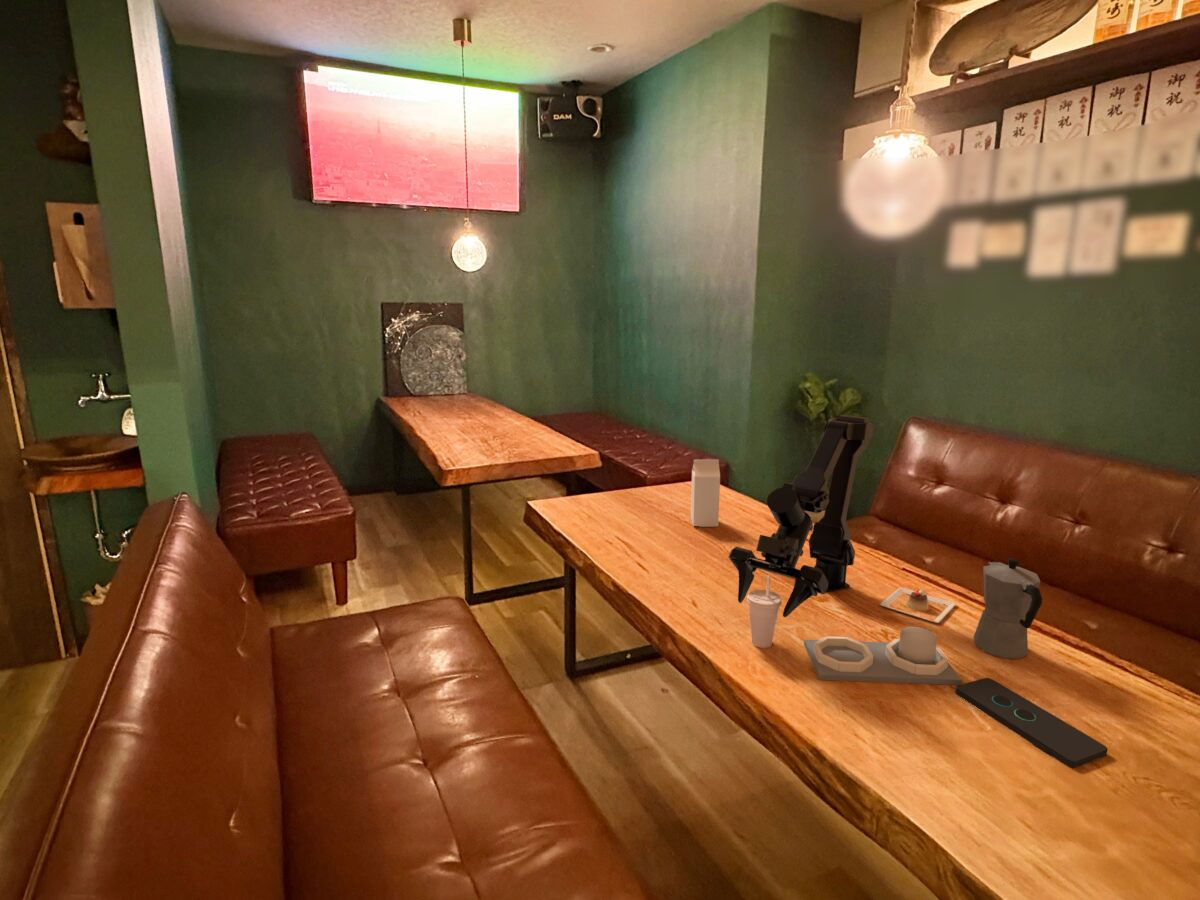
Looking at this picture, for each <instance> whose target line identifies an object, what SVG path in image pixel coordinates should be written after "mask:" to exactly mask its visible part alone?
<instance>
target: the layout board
mask: <svg viewBox="0 0 1200 900" xmlns="http://www.w3.org/2000/svg"><path fill="white" fill-rule="evenodd" d="M899 634H900V635H899V638H894V639H893V640H891V641H890V642H887V641H885V642H884V641H861V640H860V641H857V640H855V639H853V638H850V637H846V636H831V635H830V636H829V635H827V636H823V637H822V638H820V639H803V644H804V648H805V650H806V652H807V654H808V657H809V659H810V661H811V664H812V666H813V668H814V671H815V673H816V676H817V678H818V680H820V681H821V680H823V681H844V682H845V681H847V682H874V683H894V684H895V683H900V684H927V685H947V686H948V685H949V686H950V685H951V686H954V685H956V686H959V685H962V682H963V680H962V678H961V677H960V675H959V674H958V673H957V672H956V670H955V669H954V668H953V666H952V665H951V664H950V663H949V657H948V656H947V655H946V654H945V653H944V652H943V650H942V649H941V648H940V647H939V646H937V645H938V636H937V635H936V633H934V632H933V631H931V630H928V629H926V628H922V627H919V626H905V627H903V628H901V629H900V631H899Z"/></svg>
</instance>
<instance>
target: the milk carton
mask: <svg viewBox="0 0 1200 900" xmlns="http://www.w3.org/2000/svg"><path fill="white" fill-rule="evenodd" d="M719 463H720V460H719V459H693V464H692V469H691V485H690V487H691V491H690V494H691V496H690V521H691V524H692V526H693V527H694V526H699V527H700V528H703V527H707V528H710V527H712V528H715V527H716V528H717V527H719V518H720V517H719V514H720V492H721V491H720V489H721V470H720V464H719ZM699 527H698V528H699Z"/></svg>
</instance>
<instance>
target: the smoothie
mask: <svg viewBox="0 0 1200 900" xmlns="http://www.w3.org/2000/svg"><path fill="white" fill-rule="evenodd" d="M766 576H767V577H766V589H755V590H752V591H749V592H747V596H746V597H747V598H746V602H747V603H748V610H749V611H748V612H749V621H750V633H751V634H750V635H751V644H752V645H753V646H755V647H757V648H761V649H766V648H770V647H771V646H772V643H773V639H774V634H775V630H776V629H775V628H776V623H777V619H778V614H779V610H780V607H781V606H782V597H781V595H779V594H778V593H776V592H775V591H773V590H772V591H771V590H770V588H771V587H770V584H771V575H769V574H767V575H766Z"/></svg>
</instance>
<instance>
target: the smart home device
mask: <svg viewBox="0 0 1200 900" xmlns="http://www.w3.org/2000/svg"><path fill="white" fill-rule="evenodd" d="M955 692H956V693H955ZM955 692H954V693H955V695H957V696H958V695H959V696H960V697H959V696H958V697H959V698H961V697H962V698H961V699H962V700H964V699H965V700H964V701H965V702H967V701H968V702H967V703H969V704H970V703H971V705H972V706H973V705H974V706H973V707H975V706H976V707H977V709H978V710H979V709H980V711H981V712H982V713H984V714H985V715H987V716H989V717H990V718H992V719H994V720H995V721H996V722H998V723H1000V725H1003V726H1004V727H1006V728H1007V729H1009V731H1012V732H1013V733H1015V734H1017V735H1018V736H1020V737H1021V738H1023V739H1024V740H1026V741H1027V742H1028V743H1031V744H1032V745H1034V746H1036V747H1037V748H1038V749H1040V750H1042V751H1043V752H1044V753H1045V754H1047V755H1049V756H1050V757H1052V758H1054V759H1055V760H1057V761H1058V762H1059V763H1062V764H1063V765H1064V766H1066V767H1069V768H1070V769H1075V768H1078V767H1080V766H1082V765H1083V766H1084V765H1085V764H1088V763H1091V762H1093V761H1097V760H1099V759H1101V758H1103V757H1106V756H1107V754H1108V747H1107V746H1106V745H1105V744H1103V743H1101V742H1099V740H1096V739H1094V738H1093V737H1092V736H1089V735H1088V734H1086V733H1084V732H1082V731H1081V730H1079V729H1077V728H1076V727H1074V726H1072V725H1071V724H1069V723H1067V722H1066V721H1064V720H1062V719H1061V718H1059V717H1057V716H1055V715H1054V714H1052V713H1051V712H1049V711H1047V710H1045V709H1044V708H1042V707H1041V706H1039V705H1038V704H1035V703H1034V702H1033V701H1030V700H1028V699H1027V698H1025V697H1023V696H1021V695H1020V694H1018V693H1017V692H1015V691H1013V690H1012V689H1009V688H1008V687H1007V686H1004V685H1003V684H1001V683H1000V682H998V681H997V680H994V679H992V678H991V677H984V678H983V677H982V678H980V679H977V680H973V681H970V682H966V683H963V684H961V685H956V686H955ZM976 707H975V708H976Z"/></svg>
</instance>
